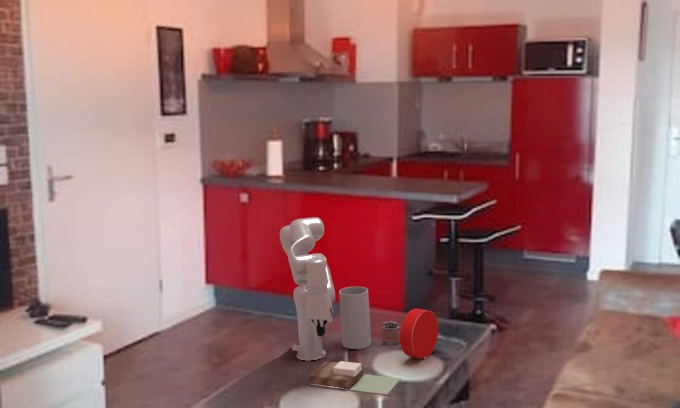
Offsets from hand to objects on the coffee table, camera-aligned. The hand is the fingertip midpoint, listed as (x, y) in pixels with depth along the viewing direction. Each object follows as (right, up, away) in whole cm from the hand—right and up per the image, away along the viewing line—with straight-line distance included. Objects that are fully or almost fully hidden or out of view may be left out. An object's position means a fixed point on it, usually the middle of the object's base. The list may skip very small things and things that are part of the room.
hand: (321, 335), depth 287 cm
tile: (+10, -13, -2) cm, 16 cm away
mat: (+21, -18, -6) cm, 28 cm away
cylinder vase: (+15, -11, +37) cm, 42 cm away
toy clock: (+41, -13, +20) cm, 47 cm away
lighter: (+30, -10, +37) cm, 49 cm away
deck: (+6, -18, +1) cm, 19 cm away
